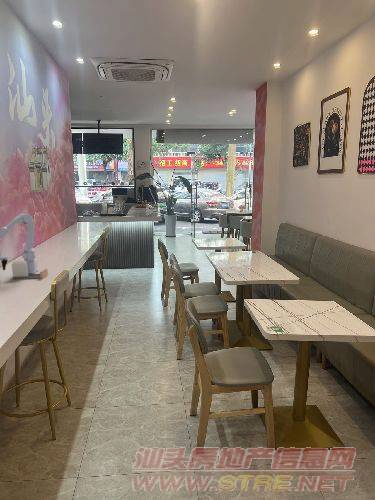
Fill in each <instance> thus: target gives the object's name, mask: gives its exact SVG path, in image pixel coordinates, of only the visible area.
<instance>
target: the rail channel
mask: <svg viewBox="0 0 375 500" xmlns="http://www.w3.org/2000/svg"><path fill="white" fill-rule="evenodd" d="M47 276H48V268H43V269H42V270H41V271H39V273H28V276H26V277H13V276H12V280H30V279H32V280H34V279H35V280H36V279H37V280H42V279H44V278H46V277H47Z"/></svg>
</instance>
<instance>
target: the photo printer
mask: <svg viewBox="0 0 375 500" xmlns="http://www.w3.org/2000/svg"><path fill="white" fill-rule="evenodd" d="M11 267H12V268H11V270H12V277H26V276H28V274H29V273H28V269H27V262H26V261H24V260H15V261H12V262H11Z"/></svg>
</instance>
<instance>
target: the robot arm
mask: <svg viewBox="0 0 375 500" xmlns="http://www.w3.org/2000/svg"><path fill="white" fill-rule="evenodd" d="M19 224H23V225H25V226H26V237H25V248H24V249H23V253H22V259H23V261H26V262H27V269H28V274H36V272H38V271H39V269H38V267H37V265H38V264H37V262H36V260H35V259H36V254H35V249H34V243H35V242H34V241H35V230H36V224H35V221H34V219H33V217H32V216H31V214H28V213H19V214H18V215H17V216H15V217H14V218H13V219H12V220H11V221H10V222H9V223H8V224H7V225H6V226H2V227H0V242H1V241H2V239H3V238H4V237H6V236H7V235H8V234H9V233H10V230H12V229H13V228H14V227H15V226H17V225H19ZM1 246H2V245H0V263H1V266H2V270H3V271H5V270H6V267H7V263H8V261H9V257H8V256H3V255H2V247H1Z"/></svg>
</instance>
